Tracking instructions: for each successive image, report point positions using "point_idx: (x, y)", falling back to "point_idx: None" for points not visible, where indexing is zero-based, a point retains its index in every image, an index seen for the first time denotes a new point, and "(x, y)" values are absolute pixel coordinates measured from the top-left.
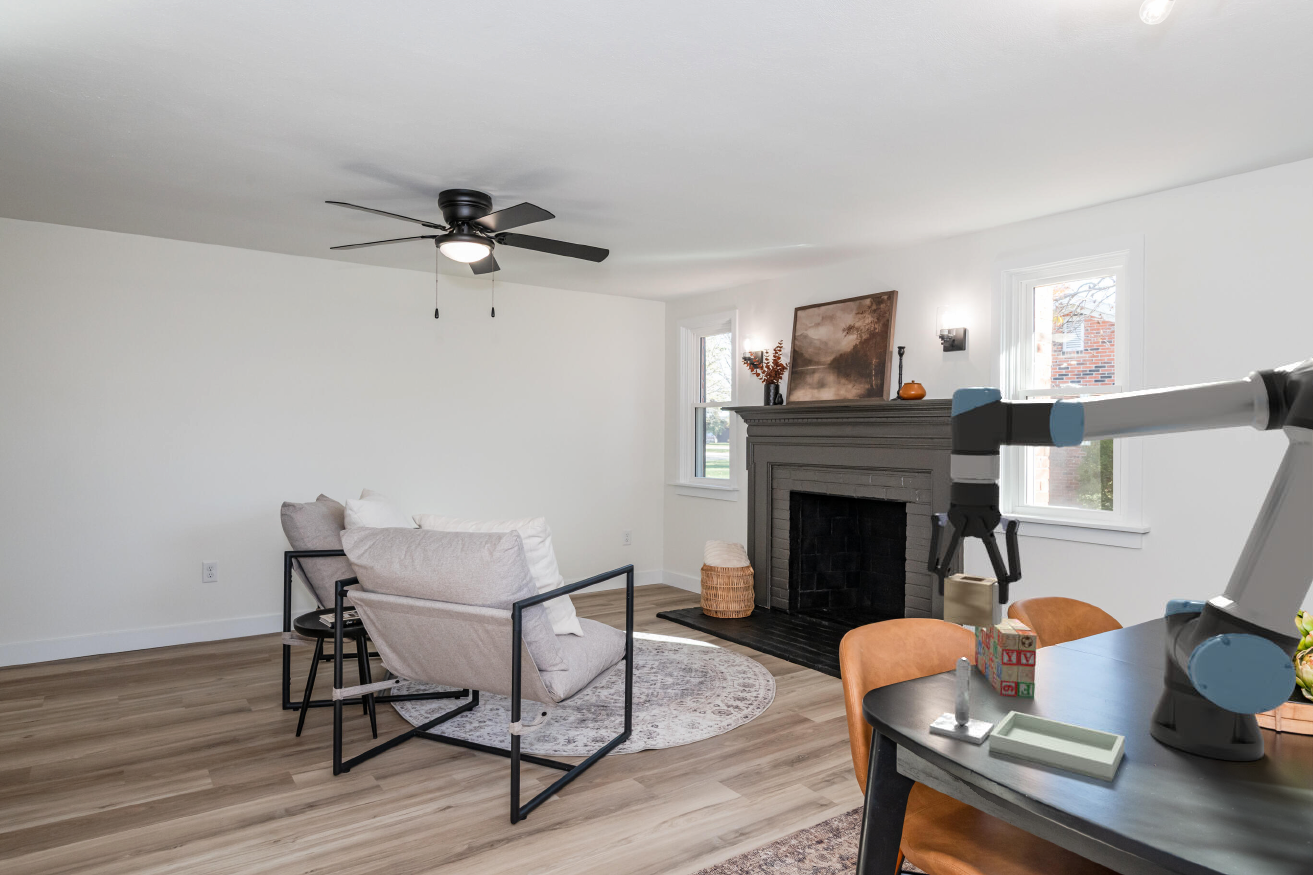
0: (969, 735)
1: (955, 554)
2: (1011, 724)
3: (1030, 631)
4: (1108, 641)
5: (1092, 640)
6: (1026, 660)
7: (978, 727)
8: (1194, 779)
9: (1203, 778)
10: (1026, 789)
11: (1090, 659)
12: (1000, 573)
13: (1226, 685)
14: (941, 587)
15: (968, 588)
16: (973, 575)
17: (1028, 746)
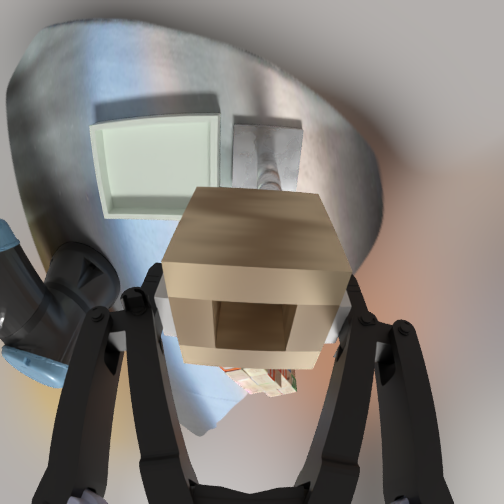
0: (248, 126)
1: (328, 405)
2: None
3: (225, 370)
4: (214, 414)
5: (223, 413)
6: None
7: (245, 162)
8: (61, 186)
9: (58, 194)
10: (159, 35)
11: (212, 390)
12: (134, 331)
13: None
14: (351, 290)
15: (249, 250)
16: (265, 368)
17: (169, 116)
